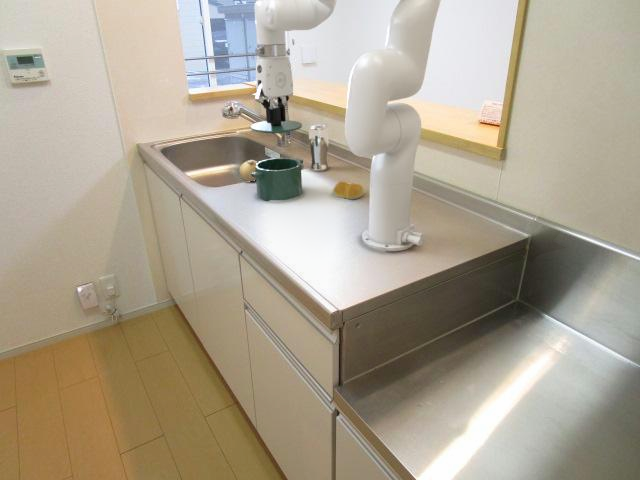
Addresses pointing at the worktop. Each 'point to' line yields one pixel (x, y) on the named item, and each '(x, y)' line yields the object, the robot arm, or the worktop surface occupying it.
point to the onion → (247, 170)
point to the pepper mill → (319, 146)
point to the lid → (276, 124)
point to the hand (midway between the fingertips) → (276, 121)
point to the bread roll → (348, 190)
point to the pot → (278, 178)
